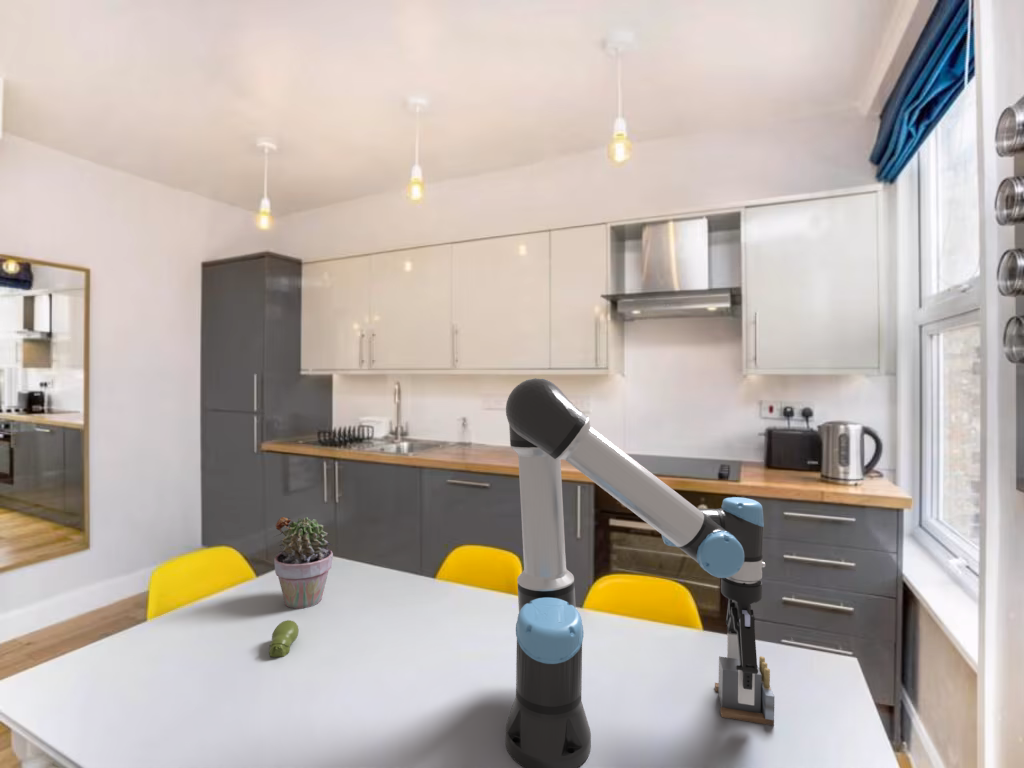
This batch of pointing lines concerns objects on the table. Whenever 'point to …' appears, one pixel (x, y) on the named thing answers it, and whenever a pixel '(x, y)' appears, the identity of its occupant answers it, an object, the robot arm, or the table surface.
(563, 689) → the robot arm
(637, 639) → the table surface
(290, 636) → the green rounded oblong piece
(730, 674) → the plug block
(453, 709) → the table surface
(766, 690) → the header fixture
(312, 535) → the potted plant
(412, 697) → the table surface
